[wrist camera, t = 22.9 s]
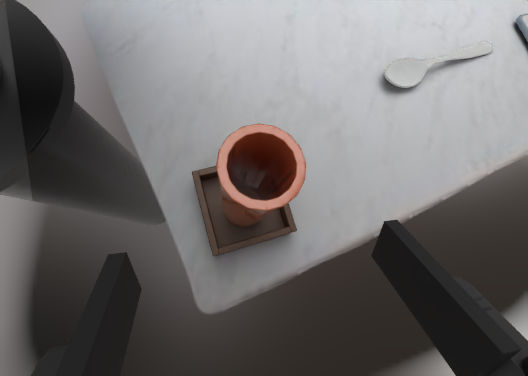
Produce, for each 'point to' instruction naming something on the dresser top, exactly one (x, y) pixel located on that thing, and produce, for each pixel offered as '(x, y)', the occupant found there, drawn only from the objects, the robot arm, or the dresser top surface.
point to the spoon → (429, 64)
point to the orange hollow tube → (258, 173)
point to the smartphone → (523, 24)
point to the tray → (223, 231)
